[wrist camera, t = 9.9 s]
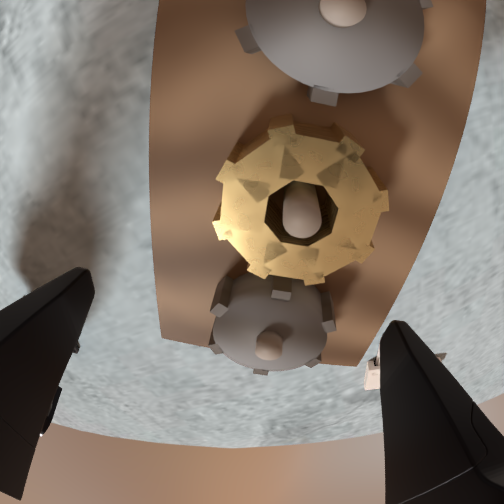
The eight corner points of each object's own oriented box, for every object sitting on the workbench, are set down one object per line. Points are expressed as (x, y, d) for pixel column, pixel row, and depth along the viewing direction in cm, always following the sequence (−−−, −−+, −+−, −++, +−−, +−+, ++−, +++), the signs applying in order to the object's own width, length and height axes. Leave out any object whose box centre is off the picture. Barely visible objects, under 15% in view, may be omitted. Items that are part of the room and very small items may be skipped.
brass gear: (348, 258, 18) (356, 293, 15) (220, 237, 18) (209, 269, 15) (387, 135, 13) (407, 152, 11) (233, 104, 13) (221, 114, 11)
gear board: (354, 348, 25) (360, 402, 21) (168, 320, 25) (148, 372, 21) (469, -5, 9) (525, -14, 5) (185, -65, 9) (146, -102, 5)
